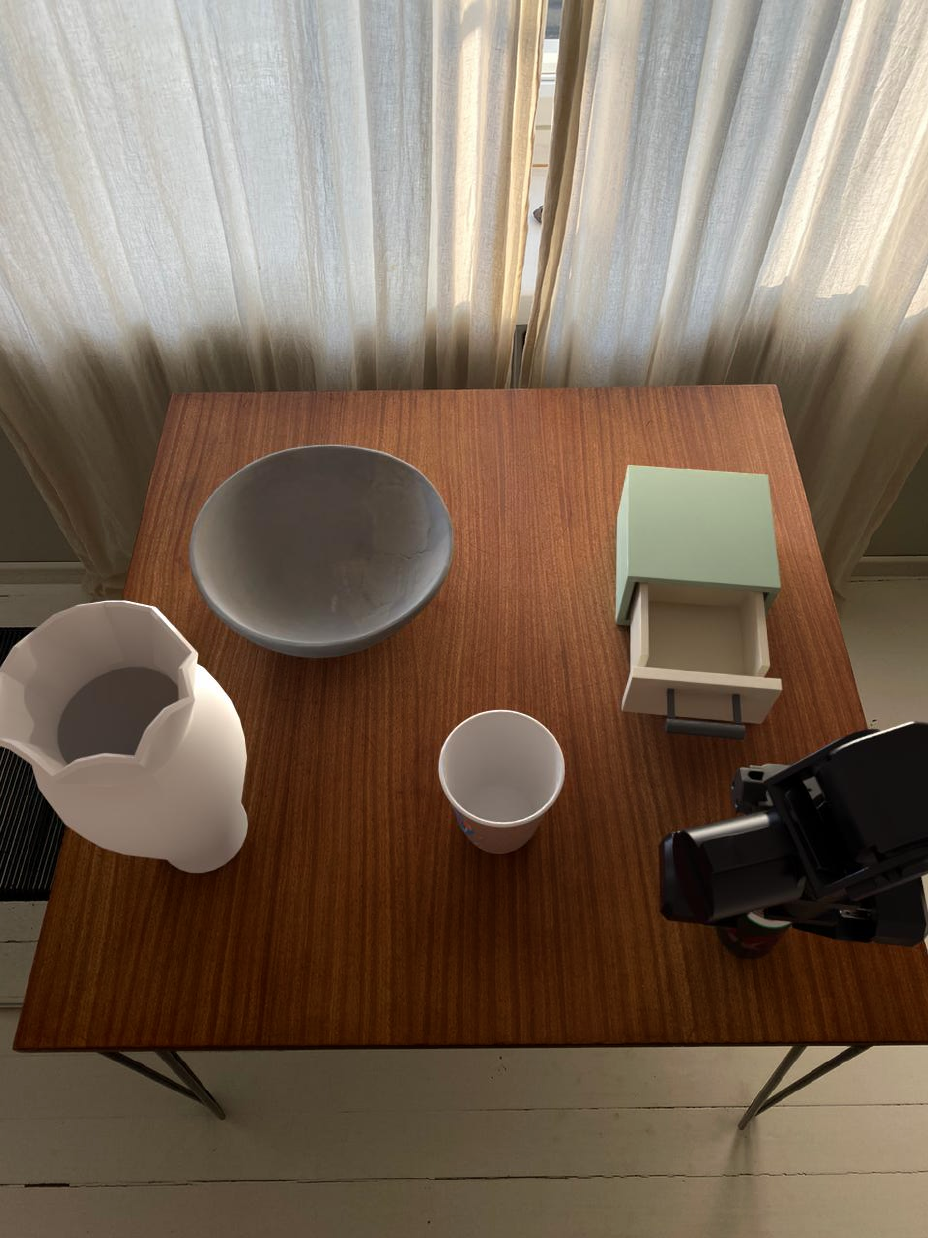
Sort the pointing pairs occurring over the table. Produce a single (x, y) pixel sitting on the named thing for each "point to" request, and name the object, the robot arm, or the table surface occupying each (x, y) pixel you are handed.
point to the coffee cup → (501, 777)
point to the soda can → (753, 935)
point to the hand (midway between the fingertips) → (756, 917)
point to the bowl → (321, 549)
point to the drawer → (699, 659)
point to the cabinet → (695, 533)
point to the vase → (128, 734)
